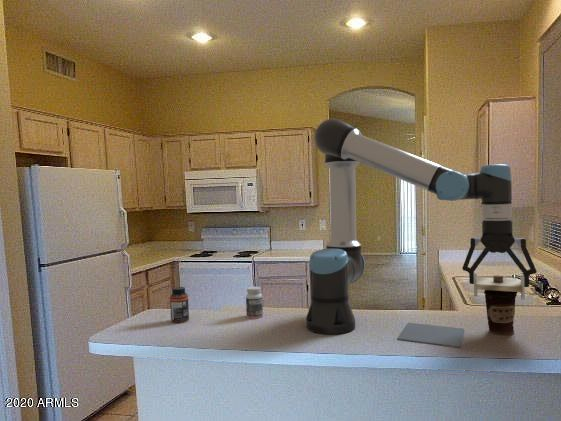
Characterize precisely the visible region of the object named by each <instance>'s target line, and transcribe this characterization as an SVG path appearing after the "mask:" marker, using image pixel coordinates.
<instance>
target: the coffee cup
mask: <svg viewBox="0 0 561 421" xmlns="http://www.w3.org/2000/svg"><path fill="white" fill-rule="evenodd" d="M483 294H484V298H485V308H486V315H487V316H486V317H487V318H486V319H487V325H488V331H489V332H490V333H493V334H496V335H505V336H506V335H508V336H509V335H513V334H515V329H514V318H515V315H516V299H517V298H516V297H517V296H518V292H512V291H495V290H483Z"/></svg>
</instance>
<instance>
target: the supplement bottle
mask: <svg viewBox="0 0 561 421" xmlns="http://www.w3.org/2000/svg"><path fill="white" fill-rule="evenodd" d="M169 301H170V302H169V303H170V322H172V323H173V322H174V324H181V323H180V322H183V323H186V322H188V321H189V320H190V314H189V313H190V311H189V310H190V309H189V295H188V293H187V292H186V288H185V286H176V287H173V288H172V294H171V295H170V296H169ZM187 320H188V321H187ZM185 321H186V322H185Z"/></svg>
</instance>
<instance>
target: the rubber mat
mask: <svg viewBox="0 0 561 421" xmlns="http://www.w3.org/2000/svg"><path fill="white" fill-rule="evenodd" d="M464 329H465V328H464V327H463V328H462V327H456V326H455V327H453V326H445V325H436V324H435V325H434V324H424V323H416V322H407V323H406V325H405V326H404V327H403V329H402V330H401V332H400V333H399V335H398V336H397V338H396V340H397V341H405V342H414V343H421V344H428V345H429V344H430V345H436V346H437V345H438V346H442V347H444V346H445V347H451V348H452V347H453V348H458V349H460V348H461V347H462V342H463V340H464V339H463V337H464V334H465V330H464Z"/></svg>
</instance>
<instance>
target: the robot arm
mask: <svg viewBox="0 0 561 421" xmlns="http://www.w3.org/2000/svg"><path fill="white" fill-rule="evenodd" d="M314 143H315V146H316V148H317V149H318V150H319V151H320V152H321V153H322V154H324V163H325V166H326V167H328V169H329V203H330V204H329V207H330V208H329V209H330V212H329V213H330V239H329V241H328V242H327V243H326V244H325V246H326V248H324V249H318V250H316V251H313V252H312V253H311V254H310V257H309V262H308V265H309V266H308V267H309V284H310V286H309V287H310V304H309V307H308V311H307V314H306V318H305V328H306V329H307V330H309V331H311V332H313V333H317V334H323V335H339V334H346V333H349V332H351V331H354V330H355V329H356V319H355V316H354V313H353V309H352V306H351V304H350V302H349V301H350V299H349V297H350V296H349V294H350V292H349V285H351V284H353V283H355V282H357V281H358V280H359V279H360V278H361V277H362V275H363V274H364V271H365V269H366V261H365V257H364V255H363V254H362V244H361V242H359V240H357V193H356V192H357V189H356V188H357V186H356V185H357V184H356V182H357V181H356V180H357V179H356V178H357V177H356V174H357V173H356V169H357V167H358V166H359V165H360V164H362V165H365V166H368V167H370V168H372V169H375V170H377V171H380V172H382V173H385V174H387V175H389V176H391V177H394V178H396V179H399V180H401V181H404V182H406V183H408V184H411V185H414V186H416V187H418V188H421V189H423V190H426V191H428V192H430V193H432V194H434V195H436V198H437V200H440V201H451V202H453V201H458V200H459V201H462V200H463V201H464V200H481V218H482V219H483V220H482V221H481V231H482V232H481V234H482V235H481V237H473V236H472V237H471V238H470V240H469V241H470V243H469V244H470V246H469V249H468V252H467V255H466V258H465V259H464V262H463V266H462V270H463V271H464V272H467V273H468V274H469V284H470V285H473V297H478V289H476V282H477V277H478V272H477V271H476V270H477V269H478V266H480V264H481V263H482V261H483V260H484V259H485V258H486V256H487V255H488V253H493V254H494V253H495V254H496V253H500V254H505V253H507V254H508V256H509V257H510V258H511V259H512V261H513V262H514V263H515V265H516V266H517V268H518V269H519V270H520V272H521V273H522V274H521V273H520V275H519V276H520V278H519V279H520V281H521V285H522V292H520V300H523V301H524V300H526V296H525V293H526V292H525V290H526V289H525V288H529V287H530V276H532V275H536V274H537V272H538V271H537V268H536V267H535V264H534V261H533V259H532V257H531V255H530V253H529V252H530V251H529V250H528V249H527V239H526V238H524V237H521V238H515V237H514V236H513V221H512V220H511V219H512V218H513V202H512V200H513V198H512V193H513V192H512V171H511V166H509V165H508V164H505V163H504V164H501V163H499V164H498V163H497V164H487V165H483V166H481V167H480V172H475V173H474V172H473V173H462V172H460V171H458V170H453V169H451V168H448V167H445V166H442V165H440V164H439V163H435V162H433V161H430V160H428V159H424V158H422V157H420V156H417V155H415V154H413V153H412V154H411V153H410V152H407V151H404V150H401V149H399V148H396V147H395V146H391V145H388V144H386V143H384V142H381V141H378V140H376V139H373V138H370V137H367V136H365V135H362V133H361V131H360V130H359V129H358V128H357V127H356V126H354V125H352V124H350V123H347V122H345V121H343V120H341V119H338V118H329V119H326V120H324V121H322V122H321V123H320V124H319V125H318V126H317V128H316V129H315V132H314ZM479 243H481V244H482V245H483V246H484V249H483V250H482V251H481V253H480V254H479V256H478V257H477V258H476V259H475V261H474V262H473V264H472V266H469V265H470V262H471V259H472V257H473V254H474V251H475V248H476V246H479ZM515 243H516V244H517V246H518V247H520V248H521V251H522V254H523V256H524V258H525V260H526V264H527V265H528V267H529V269H527V268H526V266H524V264H523V263H522V262H521V260H520V259H519V258H518V257H517V255H516V254H515V252H514V251H513V250H512V248H511V247H512V246H513V245H514V244H515Z"/></svg>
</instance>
